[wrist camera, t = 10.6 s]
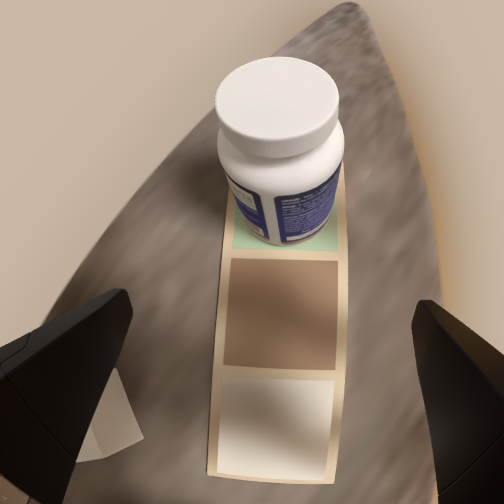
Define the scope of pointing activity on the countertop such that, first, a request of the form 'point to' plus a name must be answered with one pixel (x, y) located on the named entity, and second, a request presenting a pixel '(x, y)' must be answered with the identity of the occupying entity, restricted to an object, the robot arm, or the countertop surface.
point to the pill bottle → (281, 146)
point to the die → (110, 424)
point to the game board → (280, 353)
